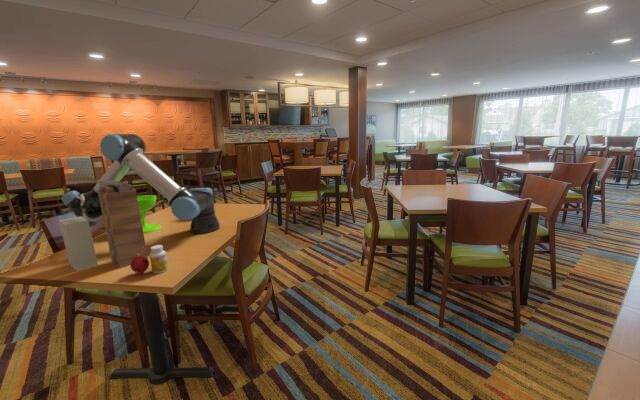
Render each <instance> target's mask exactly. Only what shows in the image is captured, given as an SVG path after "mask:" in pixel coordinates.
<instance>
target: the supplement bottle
mask: <svg viewBox="0 0 640 400" xmlns="http://www.w3.org/2000/svg"><path fill="white" fill-rule="evenodd" d="M163 249H164V247H163V245H162V244H156V245H153V246H151V247H150V254H149V260H150V266H151V272H152V274H163V273H164V272H166V271H168V269H169V265H168V258H167V253H166V251H165V250H163Z"/></svg>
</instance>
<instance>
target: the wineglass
mask: <svg viewBox="0 0 640 400" xmlns="http://www.w3.org/2000/svg"><path fill="white" fill-rule="evenodd" d="M137 199H138V205H139V211H140V217H141V222H142V228H143V234H148V233H154V232H156V231H158V230H160V229H161V228H162V226H161V224H158V223H147V221H146V215H145V214H146V212H148V211H151V209H153V208H154V206H155V205H156V203H157V195H151V194H145V195H137Z"/></svg>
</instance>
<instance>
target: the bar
mask: <svg viewBox="0 0 640 400" xmlns="http://www.w3.org/2000/svg"><path fill="white" fill-rule="evenodd" d="M98 182H99V184H100V186H109V187H113V188H114V191H115V192H118V193H123V192H130V188H129V185H130V184H129V183H127V182H122V181H119V182H118V181H113V180H102V181H98Z"/></svg>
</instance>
